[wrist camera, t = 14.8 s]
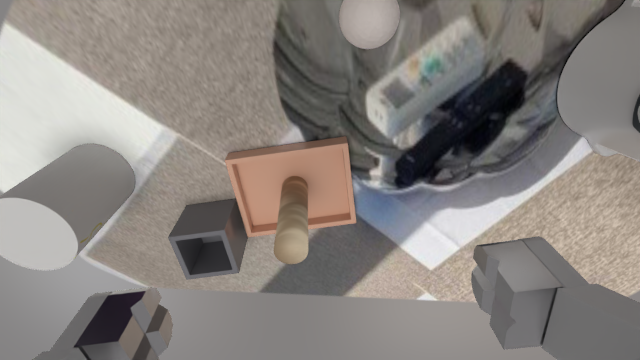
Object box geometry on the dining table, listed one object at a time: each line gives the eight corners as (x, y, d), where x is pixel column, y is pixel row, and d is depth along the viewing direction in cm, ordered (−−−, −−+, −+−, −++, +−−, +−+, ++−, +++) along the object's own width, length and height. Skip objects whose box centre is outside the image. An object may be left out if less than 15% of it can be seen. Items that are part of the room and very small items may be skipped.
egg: (361, 55, 36) (373, 69, 29) (325, 15, 34) (329, 20, 27) (400, 14, 34) (423, 19, 27) (364, -30, 32) (380, -36, 26)
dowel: (305, 174, 42) (305, 234, 31) (309, 196, 43) (310, 261, 33) (279, 177, 42) (270, 239, 31) (284, 199, 43) (277, 266, 33)
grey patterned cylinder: (83, 207, 44) (12, 275, 33) (50, 149, 40) (-43, 204, 29) (145, 198, 43) (93, 264, 33) (118, 138, 39) (49, 191, 29)
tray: (345, 136, 40) (347, 143, 38) (354, 213, 45) (356, 222, 43) (228, 152, 41) (224, 160, 39) (250, 227, 46) (247, 237, 44)
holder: (235, 198, 44) (224, 229, 38) (247, 238, 47) (238, 272, 41) (186, 205, 44) (168, 237, 38) (201, 244, 47) (186, 279, 41)
